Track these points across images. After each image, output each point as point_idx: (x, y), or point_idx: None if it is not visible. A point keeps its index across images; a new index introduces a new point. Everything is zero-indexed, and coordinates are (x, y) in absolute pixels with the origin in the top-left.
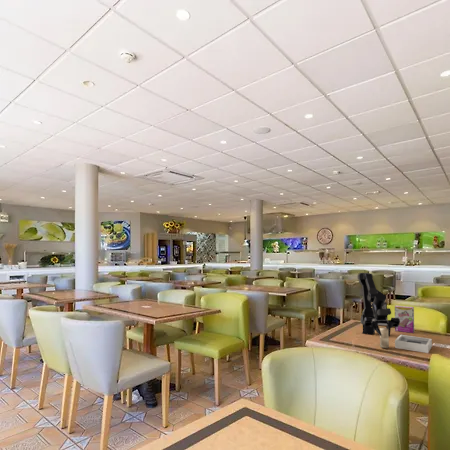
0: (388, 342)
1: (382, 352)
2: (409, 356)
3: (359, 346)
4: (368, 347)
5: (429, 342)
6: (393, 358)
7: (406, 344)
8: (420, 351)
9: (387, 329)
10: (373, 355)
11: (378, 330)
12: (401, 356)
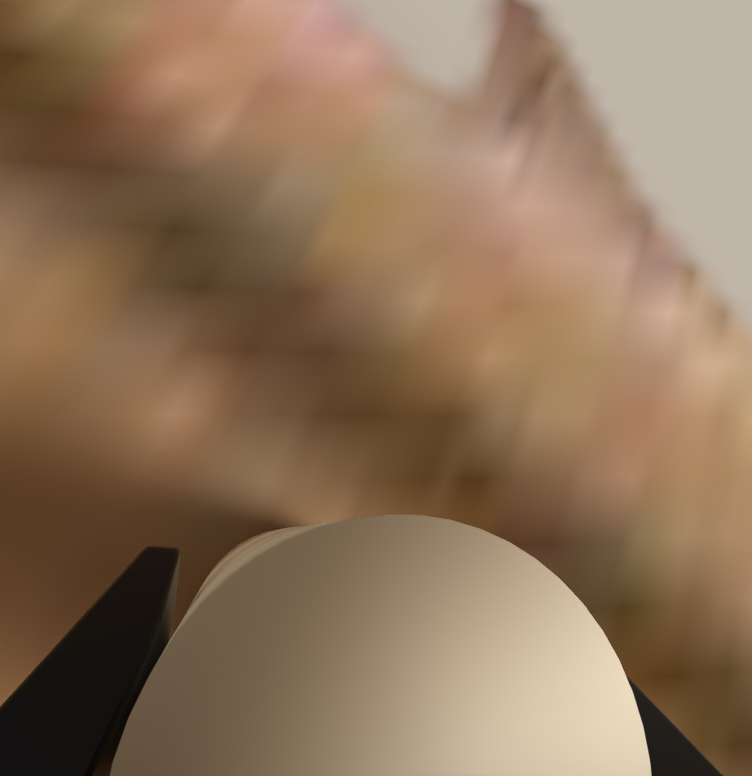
0: (216, 566)
1: (436, 340)
2: (46, 94)
3: (731, 724)
4: None
5: None
6: (384, 48)
7: None
8: None
9: (266, 554)
10: (622, 203)
11: (655, 722)
12: (201, 112)
